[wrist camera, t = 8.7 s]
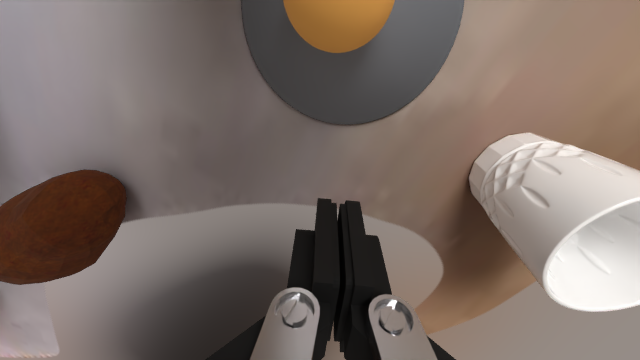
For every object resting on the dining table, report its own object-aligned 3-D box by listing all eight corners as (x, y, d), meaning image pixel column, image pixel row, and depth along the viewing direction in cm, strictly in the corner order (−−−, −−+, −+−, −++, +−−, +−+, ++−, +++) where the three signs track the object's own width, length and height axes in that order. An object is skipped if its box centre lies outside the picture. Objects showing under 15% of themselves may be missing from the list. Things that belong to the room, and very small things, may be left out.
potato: (164, 200, 25) (97, 266, 18) (99, 256, 28) (22, 328, 21) (87, 138, 22) (-27, 186, 15) (26, 208, 26) (-89, 272, 19)
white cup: (581, 168, 22) (754, 258, 13) (494, 225, 25) (585, 330, 16) (531, 102, 19) (697, 157, 11) (441, 174, 22) (513, 263, 14)
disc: (197, 2, 17) (196, 2, 17) (379, -228, 13) (380, -231, 12) (333, 157, 22) (333, 158, 22) (502, 32, 17) (503, 32, 17)
